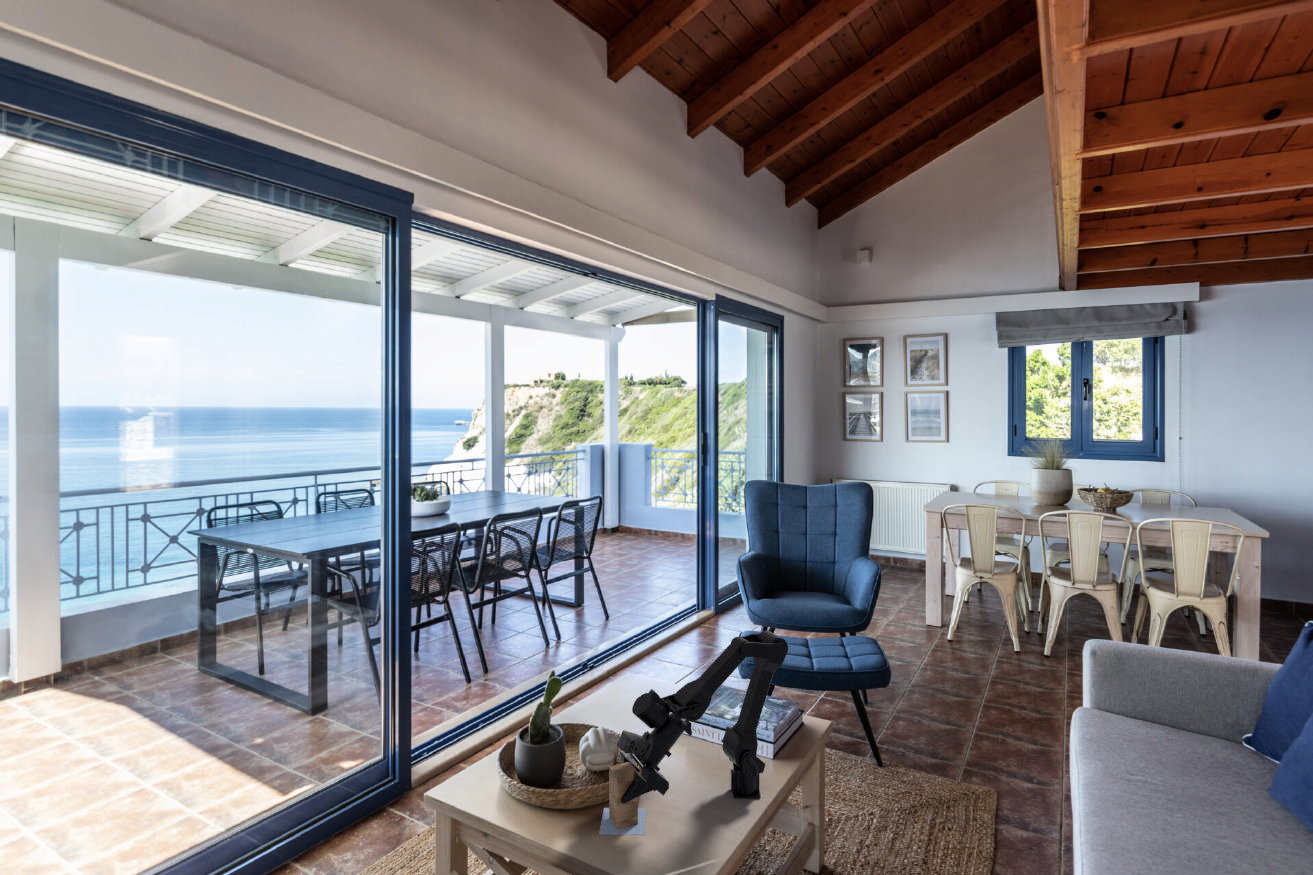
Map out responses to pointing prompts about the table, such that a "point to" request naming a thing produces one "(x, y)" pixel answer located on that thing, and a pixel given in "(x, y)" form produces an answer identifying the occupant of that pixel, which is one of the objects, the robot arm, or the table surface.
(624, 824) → the walnut pillar
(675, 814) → the table surface
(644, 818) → the light blue square plate
